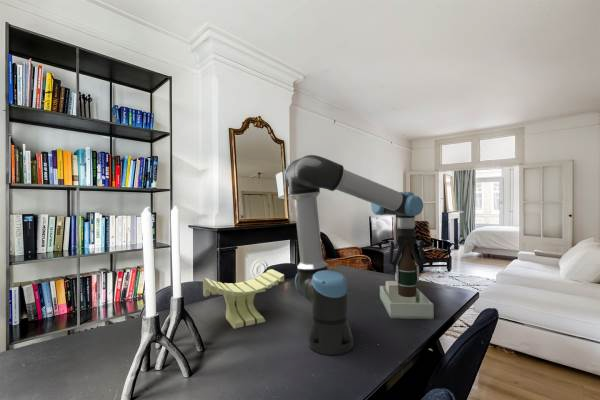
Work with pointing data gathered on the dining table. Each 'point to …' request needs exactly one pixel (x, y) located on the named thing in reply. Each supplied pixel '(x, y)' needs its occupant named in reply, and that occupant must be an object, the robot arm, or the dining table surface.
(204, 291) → the slatted curved stool
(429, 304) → the tote
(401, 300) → the off-white rectangular block
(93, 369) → the dining table surface
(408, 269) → the beer bottle
